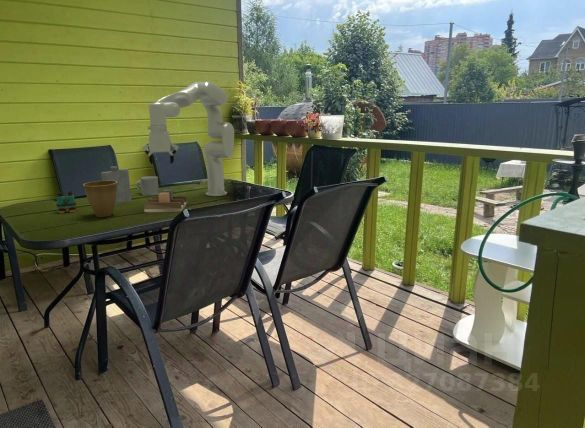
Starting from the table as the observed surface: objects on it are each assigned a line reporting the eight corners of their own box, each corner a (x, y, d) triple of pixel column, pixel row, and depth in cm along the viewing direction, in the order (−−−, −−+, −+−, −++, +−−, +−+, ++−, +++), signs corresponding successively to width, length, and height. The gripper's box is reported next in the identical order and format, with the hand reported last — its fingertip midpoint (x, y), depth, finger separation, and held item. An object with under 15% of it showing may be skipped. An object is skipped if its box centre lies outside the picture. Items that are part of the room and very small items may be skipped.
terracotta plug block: (161, 206, 224) (160, 192, 222) (170, 205, 224) (169, 192, 223) (159, 207, 220) (158, 194, 219) (168, 207, 220) (167, 193, 219)
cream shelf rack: (153, 204, 235) (152, 196, 234) (187, 203, 236) (186, 195, 235) (144, 212, 217) (143, 203, 216) (181, 211, 218) (180, 202, 217)
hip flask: (106, 205, 233) (102, 168, 228) (102, 204, 235) (98, 167, 230) (132, 200, 245) (129, 165, 241) (128, 199, 248) (124, 164, 243)
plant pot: (96, 212, 219) (92, 180, 215) (125, 211, 218) (122, 180, 215) (81, 219, 204) (76, 185, 201) (112, 219, 204) (108, 185, 200)
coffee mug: (162, 192, 267) (161, 176, 265) (152, 195, 258) (150, 179, 256) (144, 191, 272) (142, 175, 269) (133, 194, 263) (131, 178, 260)
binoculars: (74, 189, 225) (74, 191, 216) (76, 210, 227) (77, 212, 218) (54, 191, 221) (54, 192, 212) (57, 212, 223) (57, 214, 214)
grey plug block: (164, 202, 232) (163, 189, 230) (173, 202, 232) (172, 189, 230) (163, 204, 228) (162, 191, 226) (171, 204, 228) (170, 191, 227)
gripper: (138, 129, 209) (142, 165, 213) (175, 128, 210) (178, 164, 214) (142, 128, 216) (146, 162, 221) (178, 127, 217) (181, 162, 222)
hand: (162, 163), depth 217 cm, fingers open, 9 cm apart
